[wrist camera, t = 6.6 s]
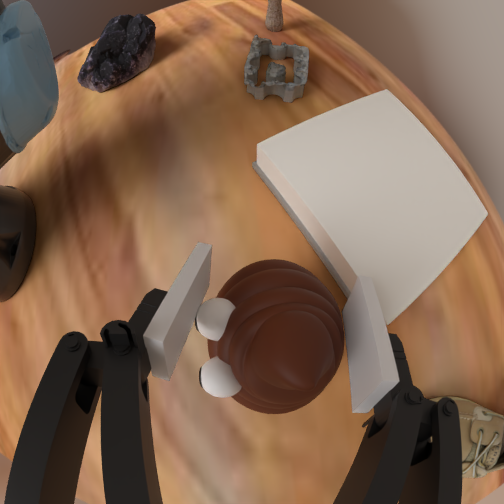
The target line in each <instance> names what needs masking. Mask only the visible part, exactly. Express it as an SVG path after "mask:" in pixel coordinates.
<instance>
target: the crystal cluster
mask: <svg viewBox="0 0 504 504" xmlns="http://www.w3.org/2000/svg"><path fill="white" fill-rule="evenodd" d="M155 30H156V27H155V23H154V22H153V21H152V20H151V19H149V18H148V17H147V16H145V15H144V14H137V15H136V16H135V17H133V16H131V15H120V16H117V17H114V18H112V19H111V20H110V21H109V23H108V24H107V25H106V27H105V29H104V30H103V32H102V34H101V36H100V39H99V40H98V42H97V43H96V45H95V46H93V47H91V48H90V51H89V53H88V56H87V58H86V61H85V63H84V64H83V65H82V67H81V70H80V72H79V76H78V82H79V83H80V84H81V86H83V87H85V88H89V89H91V90H93V91H98V92H103V91H105V90H107V89H110V88H112V87H115V86H117V85H119V84H121V83H123V82H125V81H127V80H129V79H131V78H132V77H134V76H135V75H137V74H138V73H139V72H141V71H143V70H145V69H147V68H148V67H149V65H150V63H151V61H152V60H153V57H154V51H155V46H156V42H155Z"/></svg>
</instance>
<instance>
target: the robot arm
mask: <svg viewBox="0 0 504 504" xmlns="http://www.w3.org/2000/svg"><path fill="white" fill-rule="evenodd" d="M58 99H59V90H58V81H57V75H56V70H55V65H54V61H53V57H52V53H51V50H50V46H49V43H48V40H47V37H46V34H45V31H44V29H43V26H42V23H41V21H40V19H39V16H38V15H37V13H35V12H34V9H33V7H32V5H31V4H30V3H29V2H27V1H25V0H21V1H18V2H16V3H11V4H10V5H9V6H8V7H6V8H5V6H4V4H3V2H2V0H0V169H1V168H2V167H3V166H4V165H5V164H6V163H7V162H8V161H9V160H10V159H11V158H12V157H13V156H14V155H15V154H16V153H20V152H21V151H23V150H24V148H25V147H26V145H27V143H28V142H29V141H30V140H31V139H32V138H33V137H35V136H36V135H37V134H38V133H39V132H40V131H41V130H42V129H44V128H45V127H46V126H47V125H48V124H49V123H50V122H51V120H52V119H53V117H54V115H55V113H56V110H57V106H58ZM35 234H36V215H35V209H34V206H33V203H32V201H31V199H30V198H29V196H28V195H26V194H25V193H23V192H22V191H20V190H19V189H17V188H15V187H13V186H2V185H0V302H2V301H5V300H7V299H9V298H10V297H11V296H12V295H13V294H14V293H15V292H16V290H17V289H18V288H19V286H20V284H21V282H22V281H23V279H24V277H25V274H26V272H27V269H28V266H29V263H30V260H31V256H32V252H33V248H34V242H35ZM211 254H212V245H209V244H205V243H200V242H198V243H197V245H196V247H195V248H194V250H193V251H192V253H191V255H190V256H189V258H188V260H187V261H186V263H185V264H184V266H183V268H182V269H181V271H180V273H179V274H178V276H177V278H176V279H175V281H174V283H173V284H172V286H171V288H170V289H169V291H168V292H167V291H163V290H159V289H156V288H155V289H153V290H152V291H150V292H149V293H147V294H146V295H145V297H144V298H143V300H142V301H141V304H139V306H138V308H137V310H136V311H135V312H134V314H133V315H132V317H131V319H130V320H129V322H126V321H121V320H116V321H111V322H109V323H107V324H106V325H105V326H104V327H103V328H102V330H101V332H100V335H101V337H102V340H103V342H98V341H88V340H87V338H86V337H85V335H84V334H82V333H80V332H74V331H73V332H69V333H67V334H66V335H64V336H63V337H62V338H61V340H60V341H59V343H58V345H57V347H56V349H55V351H54V353H53V355H52V357H51V359H50V362H49V364H48V366H47V368H46V370H45V372H44V375H43V377H42V379H41V381H40V384H39V386H38V388H37V391H36V393H35V396H34V398H33V401H32V403H31V406H30V409H29V411H28V414H27V417H26V420H25V422H24V425H23V428H22V431H21V435H20V438H19V441H18V444H17V448H16V451H15V455H14V459H13V463H12V467H11V471H10V475H9V480H8V485H7V490H6V496H5V503H4V504H74V500H75V494H76V489H77V483H78V478H79V473H80V468H81V464H82V459H83V455H84V450H85V446H86V442H87V438H88V435H89V431H90V427H91V424H92V420H93V416H94V413H95V410H96V406H97V403H98V400H99V397H100V393H101V390H102V396H101V455H102V471H103V482H104V492H105V499H106V504H163V502H162V497H161V492H160V486H159V481H158V475H157V468H156V461H155V454H154V446H153V438H152V428H151V417H150V404H149V386H148V379H147V377H148V375H149V373H150V370H151V372H152V375H153V376H155V377H158V378H161V379H164V380H168V381H170V378H171V376H172V373H173V371H174V368H175V366H176V363H177V361H178V358H179V356H180V353H181V351H182V349H183V346H184V344H185V341H186V339H187V337H188V334H189V332H190V329H191V327H192V325H193V322H194V320H195V318H196V315H197V312H198V309H199V307H200V306H201V303H202V301H203V299H204V296H205V294H206V292H207V289H208V287H209V281H210V267H211ZM342 316H343V323H344V331H345V338H346V347H347V356H348V365H349V375H350V387H351V400H352V413H368V412H369V411H370V410H371V409H372V408H373V407H374V415H373V416H372V417H371V418H369V419H368V420H367V421H366V422H365V423H364V424H363V426H362V427H365V426H366V425H367V424H368V426H367V429H366V432H365V435H364V437H363V440H362V442H361V445H360V447H359V450H358V452H357V455H356V457H355V459H354V462H353V464H352V466H351V468H350V471H349V473H348V475H347V477H346V479H345V481H344V483H343V485H342V487H341V489H340V491H339V493H338V495H337V497H336V499H335V501H334V503H333V504H397V503H398V501H399V503H398V504H461V496H462V442H461V429H460V419H459V411H458V407H457V404H456V403H455V401H454V400H453V399H451V398H449V397H443V398H442V399H440V400H439V401H438V402H435V401H432V400H429V399H426V398H424V397H423V394H422V392H421V391H420V390H419V389H418V388H417V387H415V386H413V383H412V379H411V375H410V371H409V367H408V363H407V360H406V356H405V353H404V348H403V345H402V342H401V341H400V339H399V338H398V336H397V335H396V334H389V333H388V331H387V327H386V324H385V320H384V317H383V313H382V310H381V307H380V303H379V300H378V297H377V294H376V291H375V287H374V284H373V281H372V278H371V277H366V276H361V275H359V276H358V278H357V280H356V283H355V285H354V287H353V289H352V292H351V294H350V296H349V298H348V300H347V302H346V304H345V306H344V309H343V311H342ZM431 437H432V442H431Z"/></svg>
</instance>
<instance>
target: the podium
mask: <svg viewBox="0 0 504 504" xmlns="http://www.w3.org/2000/svg"><path fill="white" fill-rule="evenodd" d="M252 167H253V169H254V170H255V171H256V172H257V174H258V175H259V176H260V178H261V179H262V180H263V181H264V183H265V184H266V185H267V187H268V188H269V189H270V191H271V192H272V193H273V194H274V196H275V197H276V198H277V200H278V201H279V202H280V204H281V205H282V206H283V208H284V209H285V210H286V212H287V213H288V214H289V216H290V217H291V219H292V220H293V221H294V223H295V224H296V225H297V227H298V228H299V229H300V231H301V232H302V234H303V235H304V236H305V238H306V239H307V241H308V242H309V243H310V245H311V246H312V248H313V249H314V250H315V252H316V253H317V255H318V256H319V258H320V259H321V260H322V262H323V263H324V265H325V266H326V268H327V269H328V271H329V272H330V274H331V275H332V276H333V278H334V279H335V281H336V282H337V284H338V285H339V287H340V288H341V290H342V291H343V293H344V294H345V296H346V297H347V299H348V298H349V296H350V294H351V292H352V289H353V287H354V285H355V283H356V280H357V278H358V276H359V275H361V276H366V277H371V278H372V281H373V284H374V287H375V291H376V294H377V297H378V300H379V303H380V307H381V310H382V313H383V317H384V320H385V324H386V325H389V324H390V323H391V322H392V321H393V320H394V319H395V318H396V317H397V316H399V315H400V314H401V313H402V312H403V311H404V310H405V309H406V308H407V307H408V306H409V305H410V304H411V303H412V302H413V301H414V300H415V299H416V298H417V297H418V296H419V295H420V294H421V293H422V292H423V291H424V290H425V289H426V288H427V287H428V286H429V285H430V284H431V283H432V282H433V281H434V280H435V279H436V278H437V277H438V275H439V274H440V273H441V272H442V271H443V270H444V269H445V268H446V267H447V265H448V264H449V263H450V262H451V261H452V260H453V259H454V257H455V256H456V255H457V254H458V253H459V251H460V250H461V249H462V248H463V247H464V245H465V244H466V243H467V242H468V240H469V239H470V238H471V236H472V235H473V234H474V233H475V231H476V230H477V229H478V227H479V226H480V225H481V223H482V222H483V221H484V219H485V218H486V216H487V215H488V213H487V211H486V209H485V207H484V206H483V204H482V203H481V201H480V199H479V198H478V196H477V195H476V193H475V191H474V190H473V188H472V187H471V185H470V184H469V182H468V181H467V180H466V178H465V177H464V175H463V174H462V172H461V171H460V170H459V168H458V167H457V166H456V164H455V163H454V162H453V160H452V159H451V158H450V156H449V155H448V154H447V153H446V151H445V150H444V149H443V148H442V146H441V145H440V144H439V143H438V141H437V140H436V139H435V138H434V137H433V136H432V134H431V133H430V132H429V131H428V130H427V129H426V128H425V127H424V125H423V124H422V123H421V122H420V121H419V120H418V119H417V118H416V117H415V116H414V115H413V114H412V113H411V112H410V111H409V110H408V109H407V108H406V107H405V106H404V105H403V104H402V103H401V102H400V101H399V100H398V99H397V98H396V97H395V96H394V95H393V94H392V93H391V92H390V91H389V90H388V89H386V90H383V91H380V92H377V93H374V94H371V95H369V96H366V97H363V98H360V99H358V100H355V101H352V102H350V103H347V104H345V105H342V106H340V107H337V108H335V109H332V110H330V111H327V112H325V113H323V114H320V115H318V116H316V117H313V118H311V119H309V120H306V121H304V122H302V123H300V124H298V125H295V126H293V127H291V128H289V129H287V130H285V131H282V132H280V133H278V134H276V135H274V136H272V137H270V138H268V139H266V140H264V141H262V142H260V143H258V144H257V161H255V162H253V163H252Z"/></svg>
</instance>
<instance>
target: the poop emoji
mask: <svg viewBox="0 0 504 504" xmlns="http://www.w3.org/2000/svg"><path fill="white" fill-rule="evenodd" d="M195 326H196V329H197V330H198V331H199V332H200V333H201V334H202V335H203V336H204V337H206V338H208V351H209V356H210V359H209V360H208V361H207V362H206V363H205V364H204V365H203V366H202V367H201V368H200V371H199V381H200V385H201V387H202V388H204V389H205V391H207V392H208V393H209V394H211V395H213V396H215V397H221V398H225V397H230V396H231V397H232V398H234V399H235V400H236V401H237V402H239V403H240V404H242V405H243V406H245V407H247V408H249V409H252V410H254V411H257V412H261V413H267V414H282V413H288V412H291V411H294V410H297V409H299V408H301V407H303V406H305V405H307V404H308V403H310V402H311V401H312V400H314V399H315V398H316V397H317V396H318V395H319V394H320V393H321V392H322V391H323V390H324V388H325V387H326V386H327V385H328V383H329V382H330V381H331V379H332V378H333V376H334V375H335V373H336V371H337V369H338V367H339V365H340V362H341V359H342V355H343V350H344V331H343V323H342V318H341V314H340V310H339V308H338V305H337V303H336V301H335V299H334V297H333V296H332V294H331V293H330V291H329V290H328V289H327V288H326V287H325V286H324V285H323V284H322V283H321V281H320V280H319V279H318V278H317V277H315V276H314V275H313V274H312V273H311V272H309V271H308V270H306V269H305V268H303V267H301V266H299V265H297V264H295V263H292V262H289V261H284V260H274V259H273V260H263V261H258V262H255V263H252V264H250V265H248V266H246V267H244V268H242V269H241V270H239V271H238V272H236V273H235V274H234V275H233V276H232V277H231V278H230V279H229V280H228V281H227V282H226V283H225V284H224V286H223V287H222V289H221V290H220V292H219V293H218V295H217V297H216V298H213V299H209V300H207V301H205V302H204V303H203V304H202V305H201V306H200V307H199V309H198V312H197V315H196V318H195Z"/></svg>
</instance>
